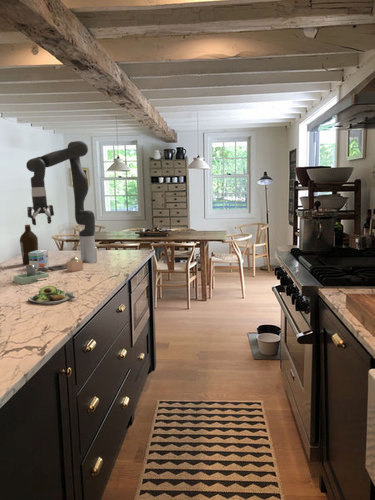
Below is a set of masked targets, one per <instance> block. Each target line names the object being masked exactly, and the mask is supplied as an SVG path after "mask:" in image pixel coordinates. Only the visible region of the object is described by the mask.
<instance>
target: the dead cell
mask: <svg viewBox="0 0 375 500" xmlns="http://www.w3.org/2000/svg"><path fill="white" fill-rule="evenodd" d="M70 260H71V262H75V261H78V260H79V258H78V257H77V256H72V257H71V258H70Z"/></svg>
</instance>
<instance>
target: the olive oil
mask: <svg viewBox="0 0 375 500" xmlns="http://www.w3.org/2000/svg"><path fill="white" fill-rule="evenodd" d="M38 241H39V240H38V236H37V235H36V234H35V233H34V232H33V231H32V229H31V224H25V225H24V232H23V233H22V234H21V235H20V238H19V245H20V250H21V258H22V259H21V260H22V265H24V266H26V265H28V264H29V254H28V253H30V252H33V251H37V250H39V242H38Z"/></svg>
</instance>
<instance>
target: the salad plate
mask: <svg viewBox="0 0 375 500" xmlns="http://www.w3.org/2000/svg"><path fill="white" fill-rule="evenodd" d="M27 299H28V302H29V303H31V304H33V305H34V304H35V305H36V304H37V305H48V304H51V305H57V304H58V303H59V304H62V302H63V303H65V302H67V300H68V301H70V300H71V299H72V300H73V299H76V296H75V293H74V292H72V291H64V290H63V289H58V288H57V287H56V286H55V285H47V286H44V287H42V288H40V289H39V291H38V294H35V295H33V296H29V297H28V298H27Z"/></svg>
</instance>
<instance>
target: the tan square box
mask: <svg viewBox="0 0 375 500" xmlns="http://www.w3.org/2000/svg"><path fill="white" fill-rule="evenodd" d="M83 263H84V262H83V261H82V260H81V259H78V261H75V262H71V259H70V260H66V267H67V269H66V270H67V271H69V272H77V271H78V272H79V271H83V270H84V266H83V265H84V264H83Z"/></svg>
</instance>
